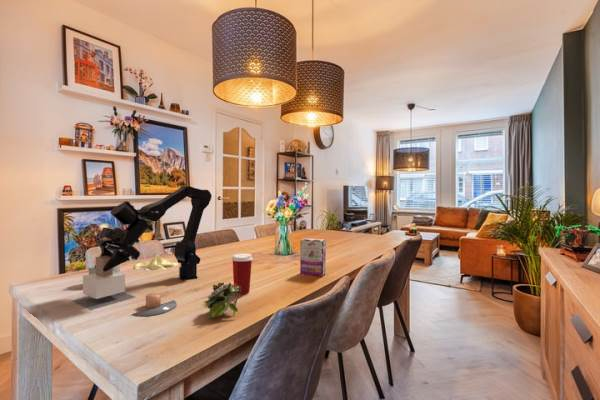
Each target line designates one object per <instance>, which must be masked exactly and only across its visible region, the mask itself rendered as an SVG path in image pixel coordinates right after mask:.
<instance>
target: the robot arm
mask: <svg viewBox="0 0 600 400" xmlns="http://www.w3.org/2000/svg"><path fill="white" fill-rule="evenodd" d="M185 198H189V199H190V203H191V210H190V214H189V218H188V221H187V224H186V226H185V227H186V228H185V231H184V234H183V237H182V240H181V241H176V243H175V248H174V249H173V252H174V255H173V256H174V257H175V259H176V261H177V263H178V264H180V265H179V267H178V277H179V278H180V280H182V281H184V280H192V279H198V274H197V273H198V272H197V271H198V270H197V268H198V267H197V266H198V265H199V264H200V263H201V257H199V256H198V255H197V254H196V251H197V246H196V239H197V234H198V231H199V227H200V223H201V220H202V217H203V214H204V211H205V209H206V208H208V206H209V204H210V202H211V200H212V194H211V191H210V190H208V189H200V188H197V187H193V186H190V185H182V186H181V187H180V188H178V189H176V190H175V191H173V192H171V193H169V194H168V195H167V196H165V197H163V198H161V199H160V200H158V201H156V202H155V201H154V202H151V203H149V204H145V205H143V206H141V207H140V208H139V209H136V208H135V207H134V206H133V205H132V204H131V202H130V201H127V200H125V201H123V202H122V203H119V204H118V205H117V206H114V207H113V208H112V210H111V211H110V215H111V216H112V217H113V218H115V219H116V220H117V221H118V223H120V224H121V225H123V226H125V225H127V226H126V227H125V229H123V228H120V227H116V226H115V227H114V228H109V227H102V229H101V231H100V233H99V235H98V236H99V237H100V238H101V237H102V239H99V240H98V242H97V243H96V245H97V246H98V247H99V248H100V251H101V252H100V255H99V257H100V256H109V257H111V258H110V260H109V261H108V263H107V264H106V265H105V267H104V268H103V271H105V272H106V271H108V270H110V269H112V268H114V267H116V266H118V265H120V266H121V265H122V264H124V263H126V262H128V261H129V262H130V260H135V261H137V260H138V259H139V258H140V256H141V252H140V251H139V250H138V249H137V248H136V247H135V246H134V245H135V243H136V244H138V243H140V238H141V237H142V236H143V235H144V233H145V232H146V231H147V232H154V227H153V223H148V222H149V221H150V222H157V221H159V220H161V218H162V217H163V216H165V214H166V212H167V211H168V210H169V209H171V208H172V207H174V206H175V205H177V204H178V203H180V202H182V201H183V200H184V199H185ZM95 268H96V265H95Z"/></svg>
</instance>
